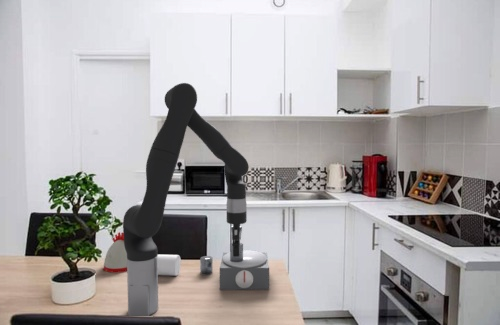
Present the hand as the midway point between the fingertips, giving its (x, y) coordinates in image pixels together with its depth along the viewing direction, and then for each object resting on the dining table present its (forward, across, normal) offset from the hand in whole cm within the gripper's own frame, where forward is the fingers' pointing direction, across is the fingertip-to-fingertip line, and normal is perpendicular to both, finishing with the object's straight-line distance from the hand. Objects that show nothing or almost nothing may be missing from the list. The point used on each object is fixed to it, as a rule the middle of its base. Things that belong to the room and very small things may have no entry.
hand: (236, 252), depth 123 cm
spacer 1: (+12, +11, +13) cm, 21 cm away
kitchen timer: (+12, +18, +51) cm, 55 cm away
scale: (+12, +3, -3) cm, 13 cm away
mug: (+12, +11, +29) cm, 33 cm away
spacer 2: (+3, 0, 0) cm, 3 cm away
